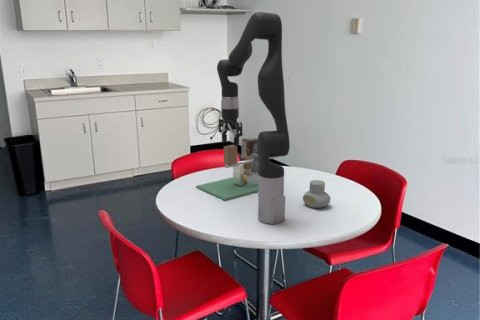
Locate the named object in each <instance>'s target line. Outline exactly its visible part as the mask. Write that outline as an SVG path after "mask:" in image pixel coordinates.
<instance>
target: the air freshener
mask: <svg viewBox="0 0 480 320" xmlns="http://www.w3.org/2000/svg"><path fill="white" fill-rule="evenodd" d="M325 186H326V182H324V180H320V179H314V180H310V182H309V190H308V191H306V192H305V193H304V194H303V196H302V201H303V203H304V204H305V205H307V206H308V207H310V208H312V209H319V208H320V209H321V208H325V207H327V206H328V205H329V204H330V203H331V197H330V195H329V193H328V192H327V191H325V188H326V187H325Z"/></svg>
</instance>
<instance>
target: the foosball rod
mask: <svg viewBox="0 0 480 320" xmlns="http://www.w3.org/2000/svg"><path fill="white" fill-rule="evenodd" d="M279 157H280V156H278V157H269V160H271V159H274V158H275V159H276V158H279ZM253 162H257V158H255V159H250V160H246V161H242V160H241V161H238V146H234V144H230V145H223V164H224V168H225V169H229V168H232V169H233V171H232V177H233V183H235V184H237V185H240V186H241V185H244V164H248V163H253Z"/></svg>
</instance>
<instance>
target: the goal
mask: <svg viewBox="0 0 480 320" xmlns="http://www.w3.org/2000/svg"><path fill="white" fill-rule="evenodd" d="M244 175H247V187H252V186H256V185H258V184H259V174H257V173H254V172H252V171H249V170H246V169H244Z"/></svg>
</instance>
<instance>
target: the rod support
mask: <svg viewBox="0 0 480 320" xmlns="http://www.w3.org/2000/svg"><path fill="white" fill-rule="evenodd" d="M255 158H257V162H253V163H251V171H252V172H254V173H257V174H259V168H258V154H257V153H251V159H255Z"/></svg>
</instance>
